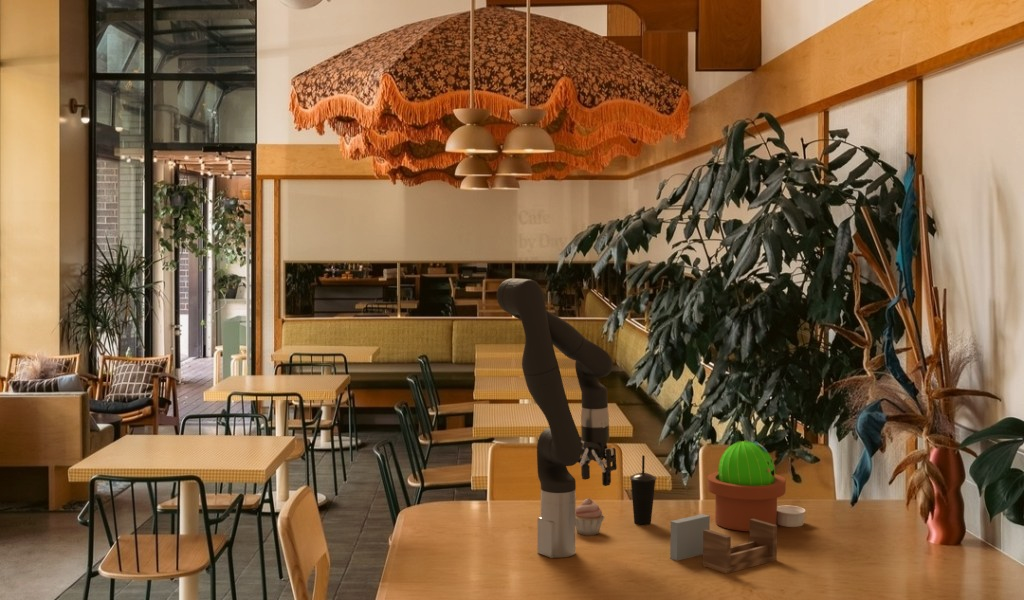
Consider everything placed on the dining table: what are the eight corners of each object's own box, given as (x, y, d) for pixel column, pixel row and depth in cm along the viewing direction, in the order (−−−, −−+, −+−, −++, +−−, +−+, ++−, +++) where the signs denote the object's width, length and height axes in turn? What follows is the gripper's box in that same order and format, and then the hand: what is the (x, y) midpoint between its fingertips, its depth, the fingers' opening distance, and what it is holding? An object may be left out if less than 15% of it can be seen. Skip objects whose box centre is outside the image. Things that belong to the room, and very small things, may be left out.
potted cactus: (697, 528, 315) (698, 442, 314) (720, 510, 335) (721, 429, 333) (773, 538, 305) (775, 449, 303) (792, 519, 324) (794, 436, 323)
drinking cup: (647, 528, 315) (648, 459, 313) (624, 523, 319) (625, 456, 318) (660, 522, 321) (661, 455, 320) (638, 518, 326) (638, 451, 324)
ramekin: (808, 528, 316) (808, 513, 316) (777, 527, 316) (778, 513, 316) (801, 519, 325) (801, 505, 325) (771, 519, 325) (771, 505, 325)
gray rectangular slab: (676, 561, 285) (677, 523, 284) (670, 558, 287) (670, 521, 286) (709, 552, 292) (709, 515, 291) (702, 550, 294) (703, 513, 293)
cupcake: (593, 539, 304) (593, 503, 303) (565, 533, 310) (565, 498, 309) (611, 531, 312) (611, 497, 311) (583, 526, 317) (583, 492, 316)
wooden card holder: (726, 573, 275) (726, 537, 274) (702, 565, 281) (703, 530, 280) (776, 560, 286) (777, 525, 285) (752, 552, 292) (753, 518, 292)
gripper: (567, 421, 300) (568, 479, 302) (601, 429, 289) (602, 489, 290) (588, 417, 305) (589, 475, 306) (623, 425, 293) (624, 485, 295)
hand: (596, 482), depth 298 cm, fingers open, 8 cm apart
